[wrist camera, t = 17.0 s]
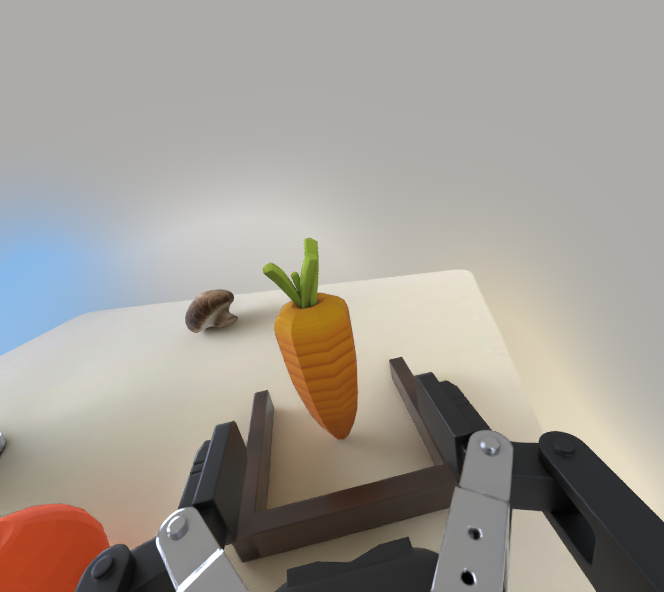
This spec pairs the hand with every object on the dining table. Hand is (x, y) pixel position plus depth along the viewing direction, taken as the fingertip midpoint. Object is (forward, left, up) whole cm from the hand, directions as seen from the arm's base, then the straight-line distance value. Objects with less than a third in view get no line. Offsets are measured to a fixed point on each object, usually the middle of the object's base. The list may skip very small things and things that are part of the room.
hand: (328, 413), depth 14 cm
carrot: (-6, +4, -9) cm, 12 cm away
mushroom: (-37, +7, -9) cm, 39 cm away
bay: (-6, +4, -9) cm, 11 cm away
